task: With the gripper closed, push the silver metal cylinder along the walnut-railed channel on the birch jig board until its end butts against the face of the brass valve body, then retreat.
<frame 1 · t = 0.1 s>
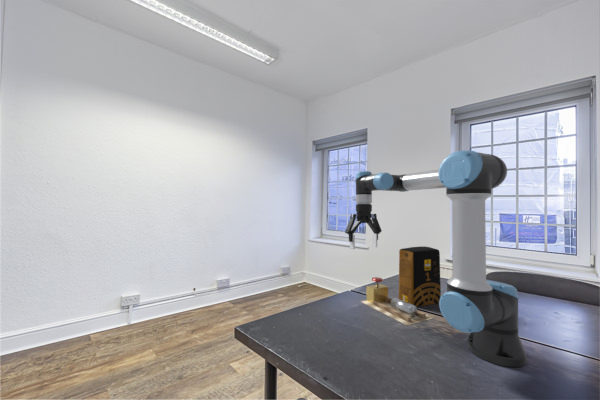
hand: (363, 247, 122), 28 cm above the table, fingers open, 13 cm apart
valve: (377, 300, 125), resting on jig board
black and orange box: (419, 304, 125), on the table
silver metal cylinder: (403, 313, 110), point 1 cm above the table, touching jig board
jig board: (394, 312, 115), on the table
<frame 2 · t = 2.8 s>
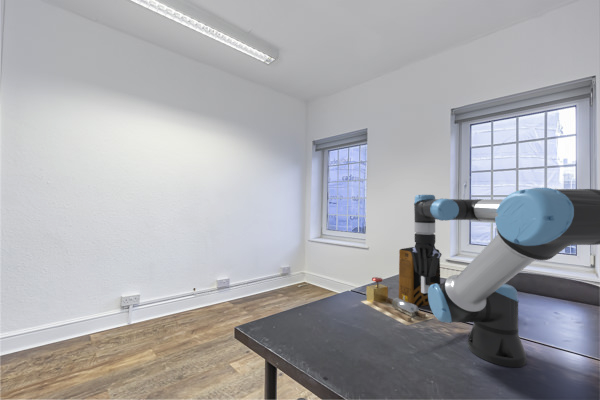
hand: (425, 292, 101), 14 cm above the table, fingers closed
silver metal cylinder: (403, 312, 110), point 2 cm above the table, tilted 21°, touching jig board
everything else where it was.
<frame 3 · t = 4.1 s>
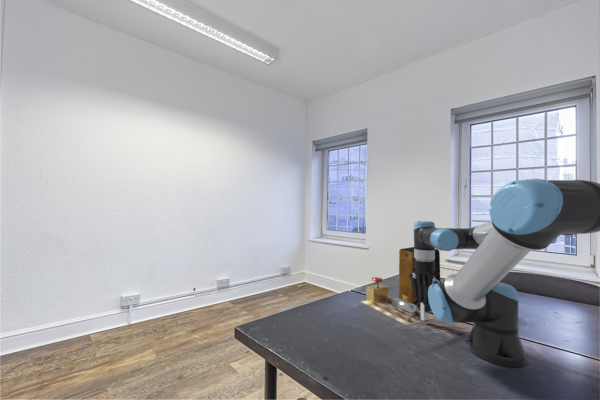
hand: (424, 319, 101), 3 cm above the table, fingers closed
nothing on the table moved.
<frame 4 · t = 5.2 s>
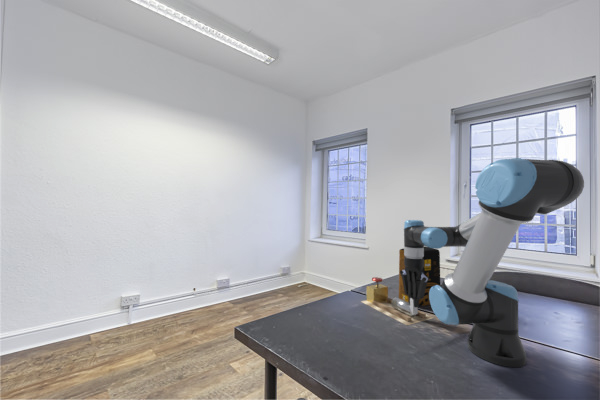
hand: (413, 313, 106), 3 cm above the table, fingers closed
silver metal cylinder: (402, 312, 111), point 2 cm above the table, tilted 21°, touching gripper
everything else where it was.
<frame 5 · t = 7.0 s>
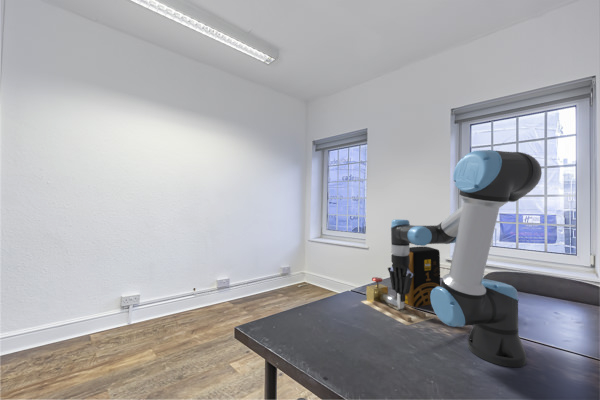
hand: (400, 308, 112), 3 cm above the table, fingers closed
silver metal cylinder: (390, 306, 117), point 2 cm above the table, tilted 25°, touching gripper, jig board
everything else where it was.
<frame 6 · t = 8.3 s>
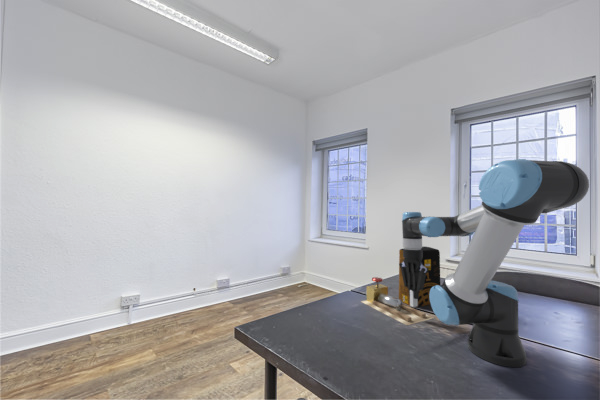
hand: (413, 305, 105), 7 cm above the table, fingers closed
silver metal cylinder: (389, 307, 117), point 1 cm above the table, touching jig board
everything else where it was.
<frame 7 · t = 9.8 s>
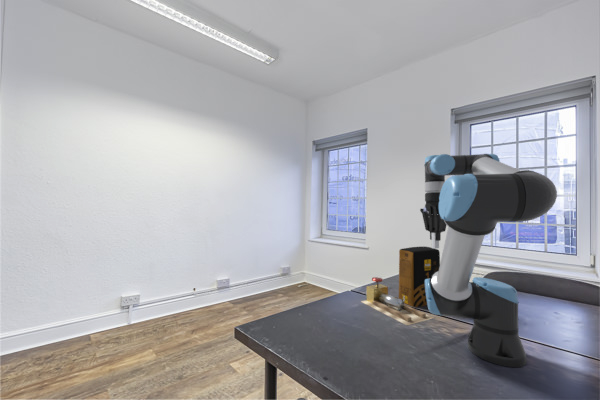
hand: (435, 248, 107), 30 cm above the table, fingers closed
silver metal cylinder: (389, 306, 117), point 2 cm above the table, tilted 26°, touching jig board
everything else where it was.
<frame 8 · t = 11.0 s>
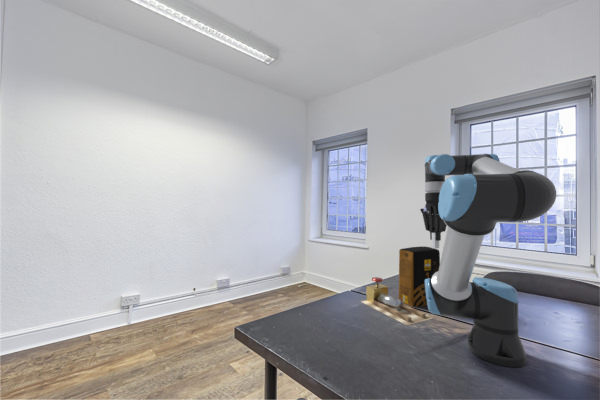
hand: (435, 248, 107), 30 cm above the table, fingers closed
silver metal cylinder: (389, 307, 117), point 1 cm above the table, touching jig board
everything else where it was.
at the end: silver metal cylinder 0.8 cm from the target spot on the table beside the valve, resting on jig board; silver metal cylinder moved 7.2 cm from its start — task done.
